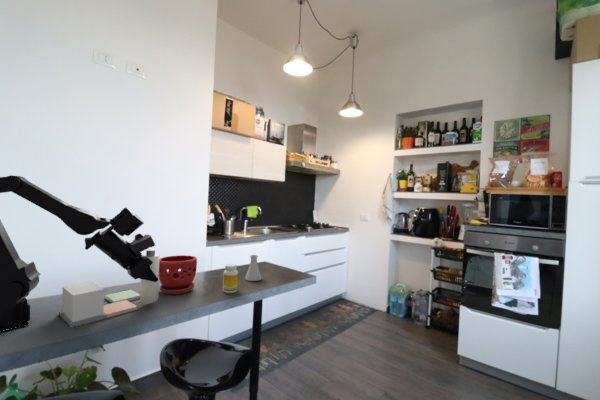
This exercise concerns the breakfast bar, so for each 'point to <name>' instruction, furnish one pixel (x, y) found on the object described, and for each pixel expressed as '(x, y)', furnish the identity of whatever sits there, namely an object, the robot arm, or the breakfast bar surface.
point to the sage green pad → (122, 296)
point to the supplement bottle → (230, 278)
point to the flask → (253, 270)
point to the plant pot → (177, 274)
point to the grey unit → (82, 304)
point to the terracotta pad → (119, 308)
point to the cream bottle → (149, 287)
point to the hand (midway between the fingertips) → (154, 278)
